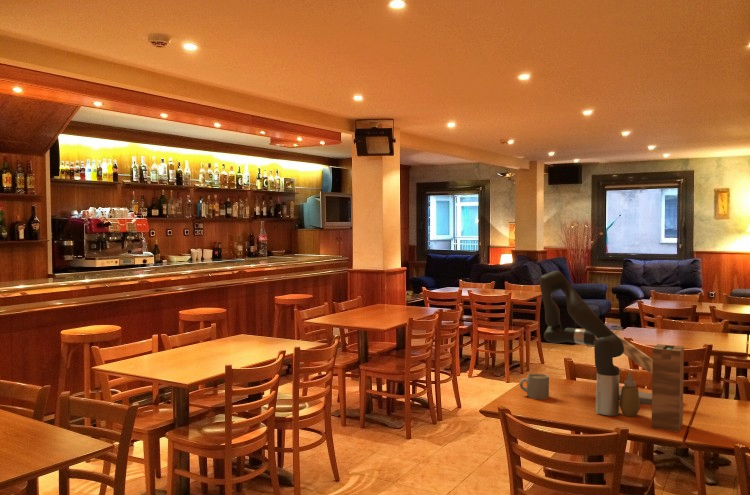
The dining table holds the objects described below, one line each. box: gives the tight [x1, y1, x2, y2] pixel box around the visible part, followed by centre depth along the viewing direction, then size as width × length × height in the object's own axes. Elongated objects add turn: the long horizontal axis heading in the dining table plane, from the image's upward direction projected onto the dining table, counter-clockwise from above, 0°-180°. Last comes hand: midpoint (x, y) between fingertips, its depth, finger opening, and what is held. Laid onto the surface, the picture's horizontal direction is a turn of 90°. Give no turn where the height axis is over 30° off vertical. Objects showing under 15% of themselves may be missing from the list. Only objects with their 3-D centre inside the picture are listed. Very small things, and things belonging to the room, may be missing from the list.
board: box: [619, 389, 652, 406], centre depth 293 cm, size 26×11×2 cm, turn 58°
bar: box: [614, 333, 653, 375], centre depth 293 cm, size 24×5×5 cm
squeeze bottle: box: [619, 372, 641, 417], centre depth 271 cm, size 8×8×18 cm
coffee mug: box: [519, 372, 550, 400], centre depth 301 cm, size 13×10×10 cm
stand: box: [651, 343, 685, 433], centre depth 255 cm, size 12×10×32 cm
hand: (621, 341), depth 297 cm, fingers closed on bar, 5 cm apart
